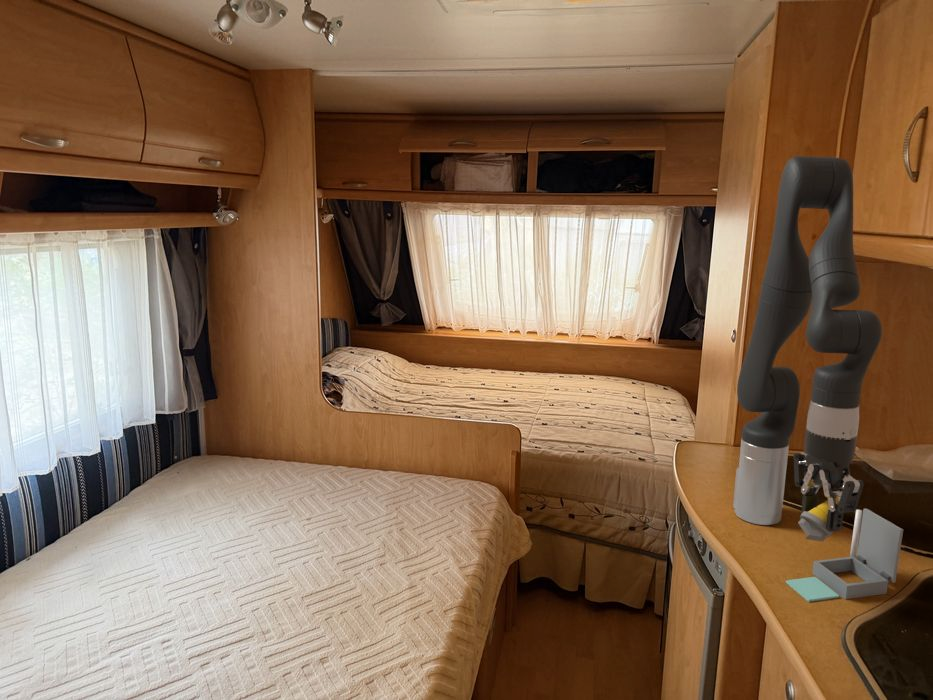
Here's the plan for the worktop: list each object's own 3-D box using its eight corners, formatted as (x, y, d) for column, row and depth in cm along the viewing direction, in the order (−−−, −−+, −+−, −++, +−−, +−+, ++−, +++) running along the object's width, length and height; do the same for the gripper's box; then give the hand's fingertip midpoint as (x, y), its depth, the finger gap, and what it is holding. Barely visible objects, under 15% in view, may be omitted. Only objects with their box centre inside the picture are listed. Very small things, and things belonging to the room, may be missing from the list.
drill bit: (788, 531, 117) (821, 487, 118) (817, 551, 114) (850, 506, 115) (793, 525, 112) (827, 480, 113) (823, 547, 109) (857, 500, 111)
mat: (785, 582, 119) (785, 580, 119) (815, 578, 120) (815, 576, 120) (808, 601, 113) (808, 599, 113) (839, 597, 114) (839, 595, 114)
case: (804, 567, 123) (811, 508, 121) (852, 561, 125) (860, 503, 123) (845, 599, 114) (853, 535, 111) (896, 592, 115) (906, 529, 113)
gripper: (783, 416, 116) (774, 506, 120) (843, 445, 102) (831, 545, 106) (820, 414, 117) (810, 502, 121) (885, 441, 104) (872, 540, 107)
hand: (820, 521), depth 113 cm, fingers closed on drill bit, 5 cm apart
